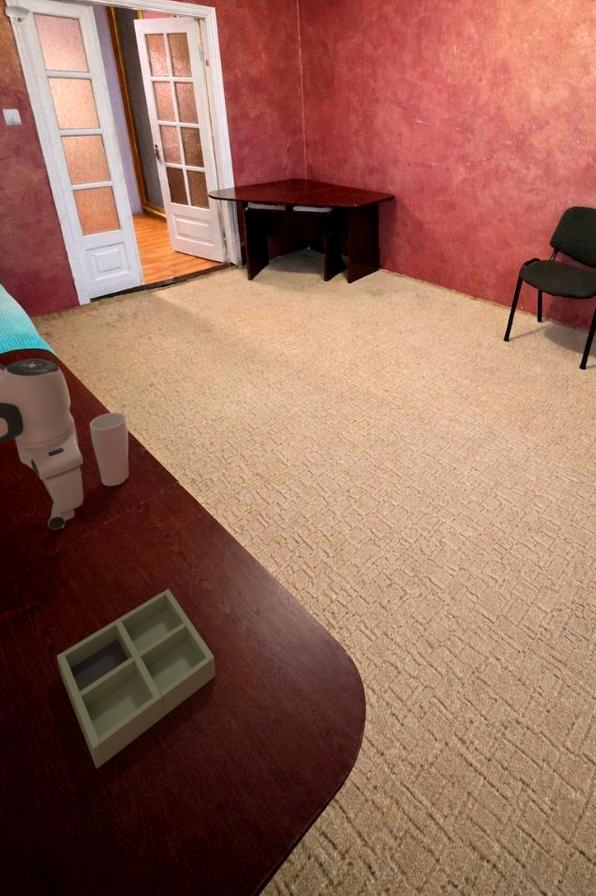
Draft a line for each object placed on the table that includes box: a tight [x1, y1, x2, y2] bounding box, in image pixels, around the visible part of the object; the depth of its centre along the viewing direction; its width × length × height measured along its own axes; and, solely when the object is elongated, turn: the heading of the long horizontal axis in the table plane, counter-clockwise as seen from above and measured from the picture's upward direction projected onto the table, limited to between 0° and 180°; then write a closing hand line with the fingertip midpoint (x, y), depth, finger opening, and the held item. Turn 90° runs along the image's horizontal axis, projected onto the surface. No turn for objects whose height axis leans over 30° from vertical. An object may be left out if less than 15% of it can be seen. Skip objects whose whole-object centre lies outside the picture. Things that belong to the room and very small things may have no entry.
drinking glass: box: [89, 412, 130, 487], centre depth 105 cm, size 7×7×15 cm
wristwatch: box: [47, 502, 67, 531], centre depth 93 cm, size 3×5×5 cm, turn 26°
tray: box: [56, 588, 217, 769], centre depth 69 cm, size 15×15×4 cm
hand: (61, 503), depth 93 cm, fingers open, 8 cm apart
